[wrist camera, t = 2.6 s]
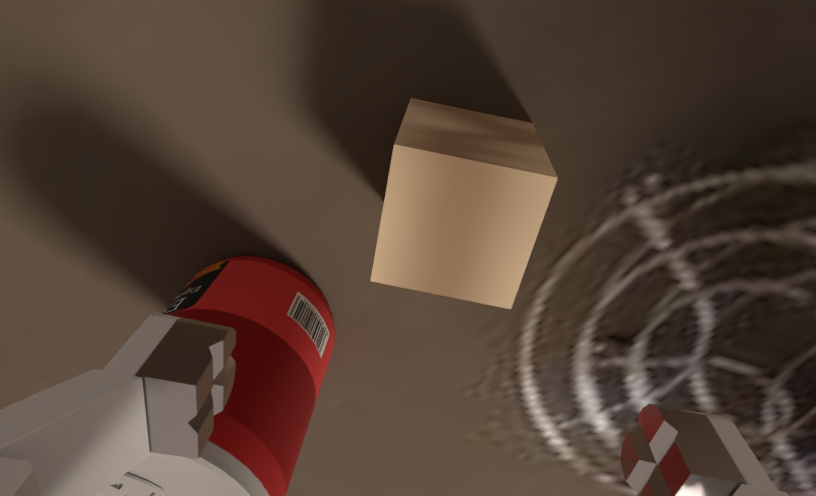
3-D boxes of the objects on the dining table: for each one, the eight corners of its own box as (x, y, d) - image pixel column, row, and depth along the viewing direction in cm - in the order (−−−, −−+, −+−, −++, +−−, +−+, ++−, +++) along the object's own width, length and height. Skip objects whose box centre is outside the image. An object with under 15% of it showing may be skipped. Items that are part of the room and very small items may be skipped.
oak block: (532, 122, 20) (557, 177, 15) (499, 230, 23) (510, 309, 17) (410, 97, 20) (393, 144, 15) (390, 208, 23) (370, 281, 17)
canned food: (202, 227, 24) (32, 400, 14) (359, 286, 25) (296, 486, 15) (180, 340, 28) (32, 537, 18) (316, 387, 28) (244, 600, 19)
